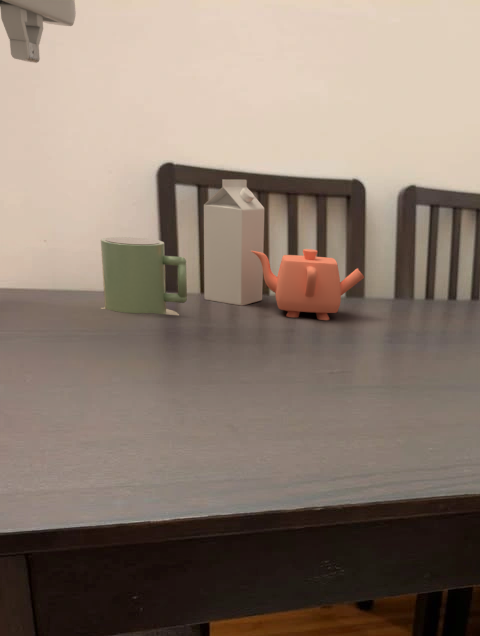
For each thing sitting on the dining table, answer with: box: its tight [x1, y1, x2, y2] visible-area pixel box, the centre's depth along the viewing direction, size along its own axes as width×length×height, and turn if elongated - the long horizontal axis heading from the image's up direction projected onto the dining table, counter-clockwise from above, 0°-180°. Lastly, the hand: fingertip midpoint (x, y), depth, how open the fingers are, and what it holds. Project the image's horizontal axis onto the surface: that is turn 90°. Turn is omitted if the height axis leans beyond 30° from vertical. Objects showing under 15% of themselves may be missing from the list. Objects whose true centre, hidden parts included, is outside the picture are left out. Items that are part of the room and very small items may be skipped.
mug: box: [100, 236, 188, 316], centre depth 103 cm, size 13×12×11 cm
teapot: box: [252, 248, 365, 321], centre depth 115 cm, size 14×12×10 cm
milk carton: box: [203, 179, 265, 306], centre depth 119 cm, size 7×7×19 cm
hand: (25, 60), depth 79 cm, fingers closed
